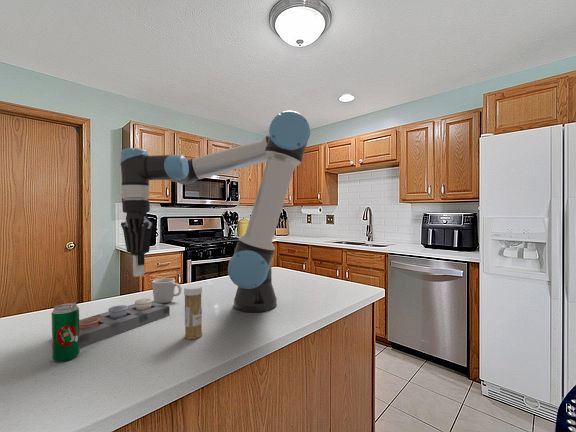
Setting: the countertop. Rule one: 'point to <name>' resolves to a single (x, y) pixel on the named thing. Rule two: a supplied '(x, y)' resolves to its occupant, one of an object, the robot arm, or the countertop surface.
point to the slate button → (118, 311)
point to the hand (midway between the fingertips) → (138, 275)
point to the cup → (165, 290)
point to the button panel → (122, 323)
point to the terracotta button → (88, 322)
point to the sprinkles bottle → (193, 311)
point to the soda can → (65, 332)
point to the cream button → (143, 304)
